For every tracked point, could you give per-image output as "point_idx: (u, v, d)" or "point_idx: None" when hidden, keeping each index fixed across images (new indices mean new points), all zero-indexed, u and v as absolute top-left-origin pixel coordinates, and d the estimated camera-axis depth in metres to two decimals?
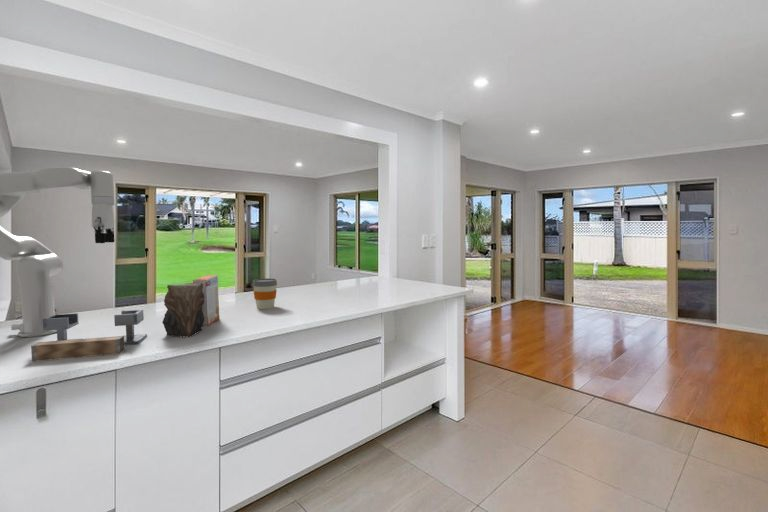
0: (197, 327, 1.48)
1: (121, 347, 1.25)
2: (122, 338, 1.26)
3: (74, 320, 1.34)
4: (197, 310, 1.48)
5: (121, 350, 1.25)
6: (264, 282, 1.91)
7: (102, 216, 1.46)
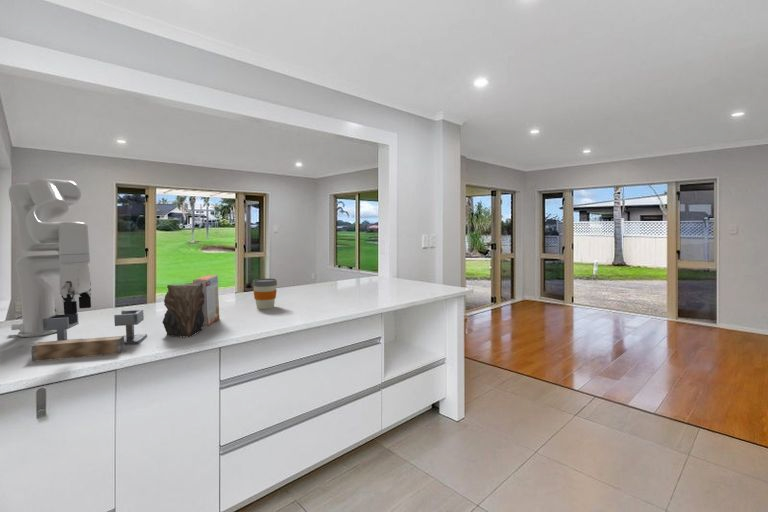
0: (197, 327, 1.48)
1: (121, 347, 1.25)
2: (122, 338, 1.26)
3: (74, 320, 1.34)
4: (197, 310, 1.48)
5: (121, 350, 1.25)
6: (264, 282, 1.91)
7: (73, 280, 1.15)
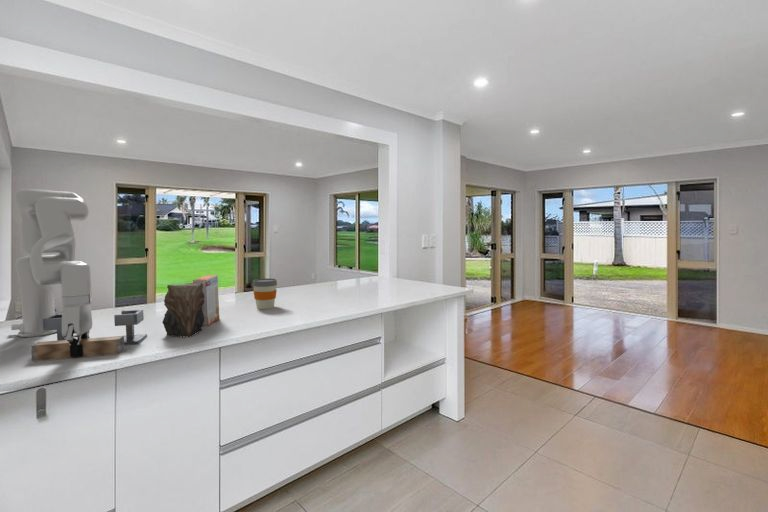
0: (197, 327, 1.48)
1: (121, 346, 1.25)
2: (122, 338, 1.26)
3: None
4: (197, 310, 1.48)
5: (121, 350, 1.25)
6: (264, 282, 1.91)
7: (75, 322, 1.16)
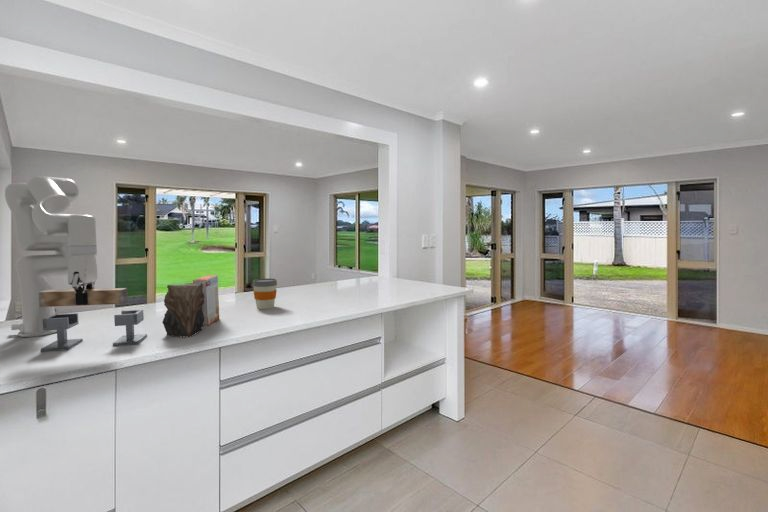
0: (197, 327, 1.48)
1: (125, 298, 1.29)
2: (125, 290, 1.30)
3: (74, 320, 1.34)
4: (197, 310, 1.48)
5: (124, 301, 1.29)
6: (264, 282, 1.91)
7: (80, 271, 1.21)
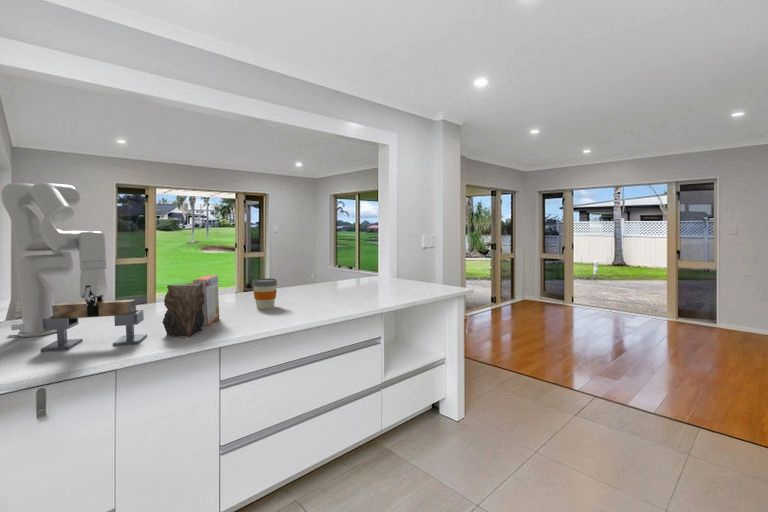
0: (197, 327, 1.48)
1: (133, 309, 1.37)
2: (134, 301, 1.37)
3: (74, 320, 1.34)
4: (197, 310, 1.48)
5: (133, 312, 1.36)
6: (264, 282, 1.91)
7: (92, 284, 1.28)
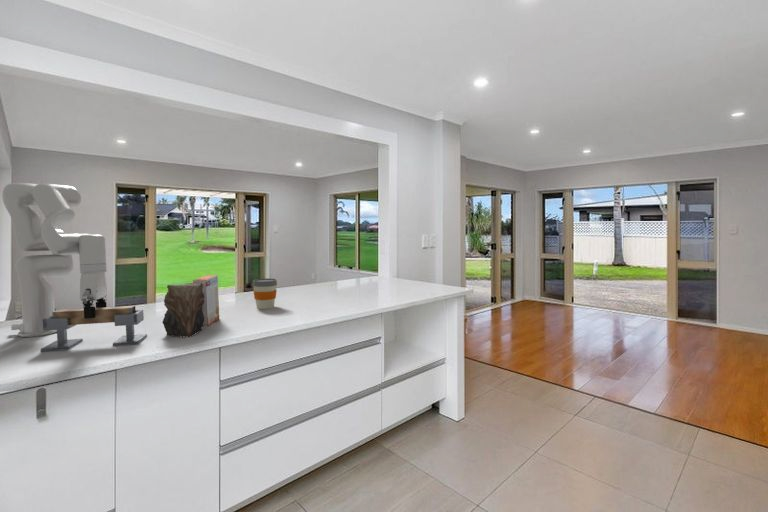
0: (197, 327, 1.48)
1: None
2: (134, 307, 1.37)
3: None
4: (197, 310, 1.48)
5: None
6: (264, 282, 1.91)
7: (92, 288, 1.28)
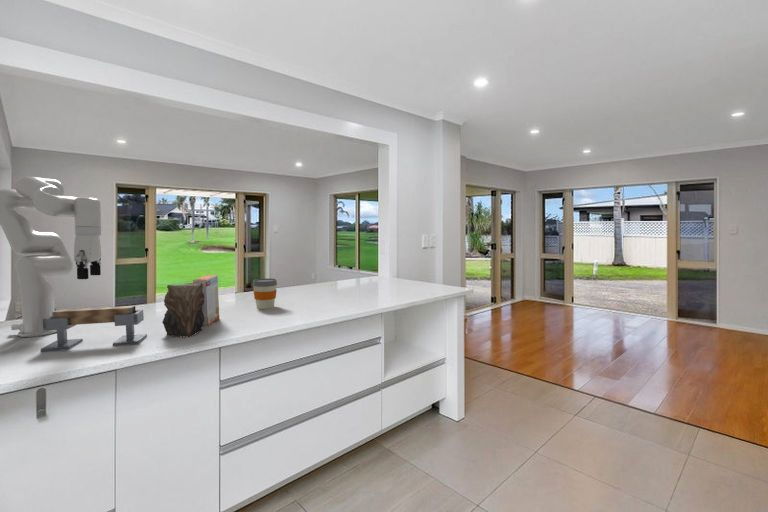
0: (197, 327, 1.48)
1: None
2: (134, 307, 1.37)
3: None
4: (197, 310, 1.48)
5: None
6: (264, 282, 1.91)
7: (86, 249, 1.30)
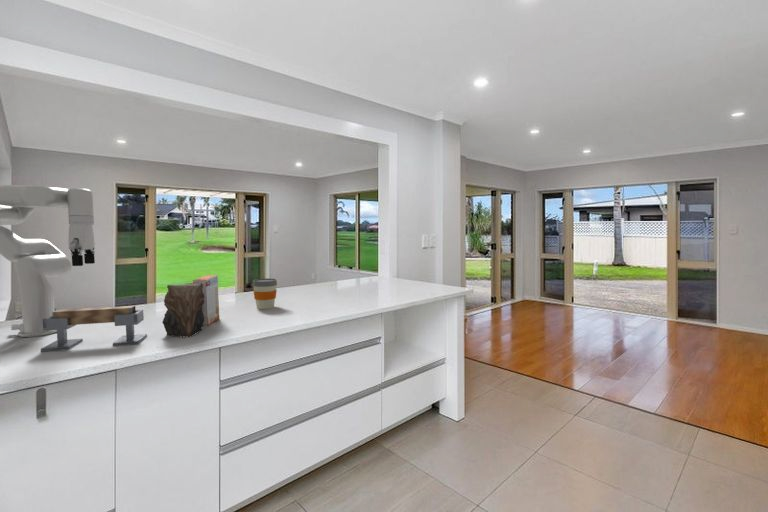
0: (197, 327, 1.48)
1: None
2: (134, 307, 1.37)
3: None
4: (197, 310, 1.48)
5: None
6: (264, 282, 1.91)
7: (80, 237, 1.37)
